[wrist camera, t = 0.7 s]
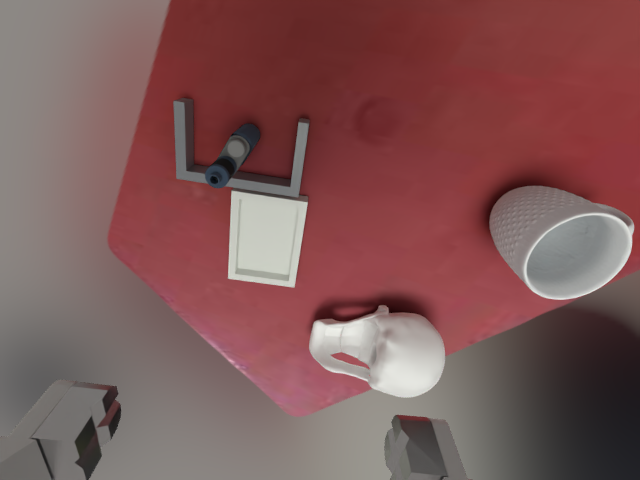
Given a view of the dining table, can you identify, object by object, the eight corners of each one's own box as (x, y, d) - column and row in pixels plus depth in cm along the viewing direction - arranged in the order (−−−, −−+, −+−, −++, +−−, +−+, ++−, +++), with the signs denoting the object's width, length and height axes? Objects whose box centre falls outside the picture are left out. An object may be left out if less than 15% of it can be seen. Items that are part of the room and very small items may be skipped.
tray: (235, 185, 46) (231, 190, 44) (308, 196, 46) (307, 202, 45) (231, 270, 52) (228, 278, 50) (295, 279, 53) (294, 287, 51)
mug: (592, 158, 44) (688, 194, 32) (579, 232, 49) (659, 286, 37) (474, 181, 45) (526, 223, 34) (474, 251, 50) (519, 307, 39)
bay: (183, 97, 41) (173, 100, 38) (309, 119, 42) (308, 123, 39) (185, 171, 45) (176, 178, 42) (299, 189, 46) (298, 197, 43)
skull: (305, 371, 57) (417, 370, 60) (317, 421, 43) (463, 417, 46) (309, 295, 56) (422, 298, 59) (322, 321, 42) (470, 323, 45)
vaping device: (226, 152, 44) (196, 182, 33) (247, 118, 42) (221, 138, 31) (243, 164, 44) (219, 197, 34) (264, 131, 42) (246, 155, 32)
